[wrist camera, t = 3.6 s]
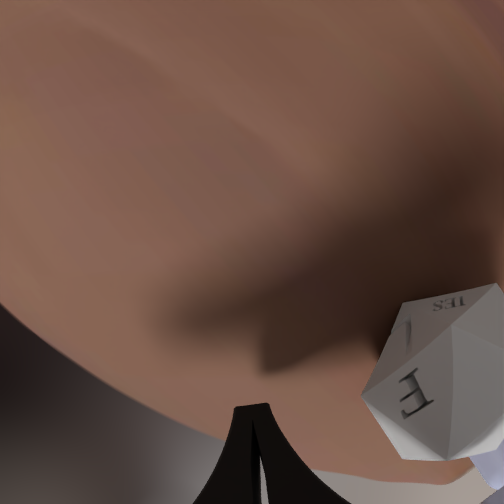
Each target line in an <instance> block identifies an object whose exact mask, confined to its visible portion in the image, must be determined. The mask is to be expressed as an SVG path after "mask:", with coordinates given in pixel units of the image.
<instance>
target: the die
mask: <svg viewBox="0 0 504 504" xmlns="http://www.w3.org/2000/svg"><path fill="white" fill-rule="evenodd" d="M361 397H362V399H363V400H364V402H365V403H366V405H367V406H368V408H369V409H370V411H371V412H372V414H373V415H374V417H375V418H376V420H377V421H378V423H379V424H380V426H381V427H382V429H383V430H384V432H385V433H386V435H387V436H388V438H389V439H390V441H391V442H392V444H393V445H394V447H395V448H396V450H397V451H398V453H399V455H400V456H401V458H402V459H411V460H433V461H448V460H454V459H459V458H464V457H468V456H473V455H477V454H481V453H485V452H489V451H493V450H496V449H497V448H498V446H499V445H500V443H501V442H502V441H503V439H504V293H503V292H502V290H501V289H500V287H499V286H498V284H497V283H493V284H489V285H485V286H481V287H477V288H473V289H468V290H464V291H459V292H455V293H450V294H445V295H441V296H436V297H431V298H426V299H420V300H415V301H410V302H404V303H402V306H401V308H400V311H399V313H398V316H397V318H396V321H395V323H394V326H393V328H392V331H391V335H390V336H389V338H388V340H387V342H386V345H385V347H384V349H383V351H382V353H381V356H380V358H379V360H378V362H377V364H376V366H375V368H374V370H373V372H372V374H371V377H370V379H369V381H368V382H367V384H366V386H365V388H364V390H363V392H362V394H361Z"/></svg>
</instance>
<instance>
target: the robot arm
mask: <svg viewBox="0 0 504 504" xmlns="http://www.w3.org/2000/svg"><path fill="white" fill-rule="evenodd" d="M260 457H261V461H262V465H263V469H264V473H265V478H266V486H267V494H268V502H269V504H351V503H349V502H348V501H346V500H345V499H344V498H342V497H341V496H339V495H338V494H337V493H336V492H334V491H333V490H332V489H331V488H330V487H328V486H327V485H326V484H325V483H324V482H323V481H321V480H320V479H319V478H318V477H317V476H316V475H315V474H314V473H313V472H312V471H311V470H310V469H309V468H308V466H307V465H306V464H305V463H304V462H303V461H302V460H301V458H300V457H299V456H298V455H297V453H296V452H295V451H294V449H293V448H292V447H291V445H290V444H289V442H288V441H287V439H286V438H285V436H284V435H283V433H282V432H281V430H280V428H279V426H278V424H277V422H276V421H275V418H274V416H273V414H272V411H271V409H270V405H269V404H268V403H261V404H253V405H246V406H237V407H235V408H234V413H233V418H232V423H231V427H230V430H229V434H228V437H227V440H226V442H225V446H224V448H223V451H222V453H221V456H220V458H219V460H218V462H217V464H216V467H215V469H214V471H213V473H212V474H211V476H210V478H209V480H208V481H207V483H206V485H205V486H204V488H203V489H202V491H201V493H200V494H199V496H198V497H197V499H196V500H195V501H194V503H193V504H262V503H261V477H260ZM469 458H470V459H471V461H472V462H473V463H474V465H475V466H476V468H477V469H478V471H479V472H480V474H481V475H482V477H483V478H484V479H485V481H486V483H487V484H488V485H489V486H490V487H492V488H494V489H496V490H497V491H496V492H495V493H493V494H492V495H491V496H489V497H488V498H486V499H485V500H484V501H483V502H481V504H504V439H503V441H502V442H501V443H500V445H499V446H498V448H497V449H496V450H493V451H489V452H485V453H481V454H477V455H473V456H469Z"/></svg>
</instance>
